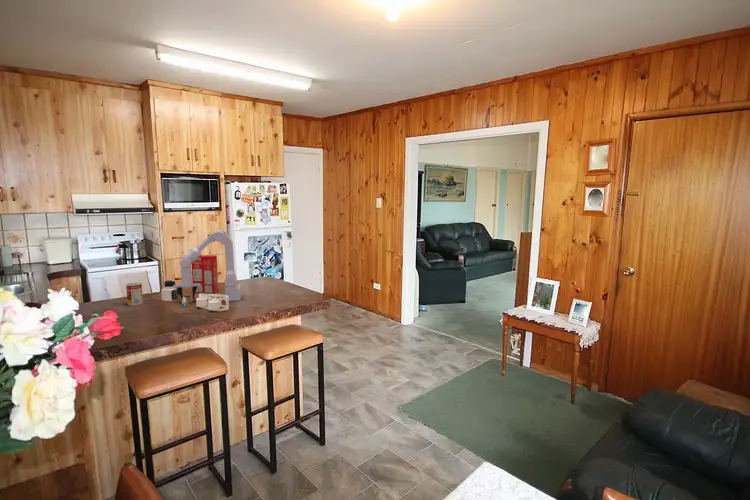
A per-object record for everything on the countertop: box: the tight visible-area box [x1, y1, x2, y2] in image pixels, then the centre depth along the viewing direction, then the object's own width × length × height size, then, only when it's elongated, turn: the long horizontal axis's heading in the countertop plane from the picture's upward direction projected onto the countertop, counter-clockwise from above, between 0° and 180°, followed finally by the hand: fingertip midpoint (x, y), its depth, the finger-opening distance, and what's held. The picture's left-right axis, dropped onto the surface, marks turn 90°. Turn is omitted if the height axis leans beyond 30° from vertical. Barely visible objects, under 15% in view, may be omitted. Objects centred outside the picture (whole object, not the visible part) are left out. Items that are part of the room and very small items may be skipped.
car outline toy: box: [195, 293, 230, 312], centre depth 232 cm, size 20×11×7 cm, turn 60°
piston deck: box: [178, 297, 191, 309], centre depth 236 cm, size 5×6×5 cm
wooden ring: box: [182, 294, 194, 303], centre depth 244 cm, size 6×6×3 cm
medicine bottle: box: [161, 279, 180, 302], centre depth 249 cm, size 7×7×12 cm
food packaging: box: [191, 254, 219, 294], centre depth 266 cm, size 15×5×25 cm, turn 84°
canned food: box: [125, 282, 144, 306], centre depth 239 cm, size 8×8×12 cm
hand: (187, 299), depth 245 cm, fingers closed on wooden ring, 6 cm apart
